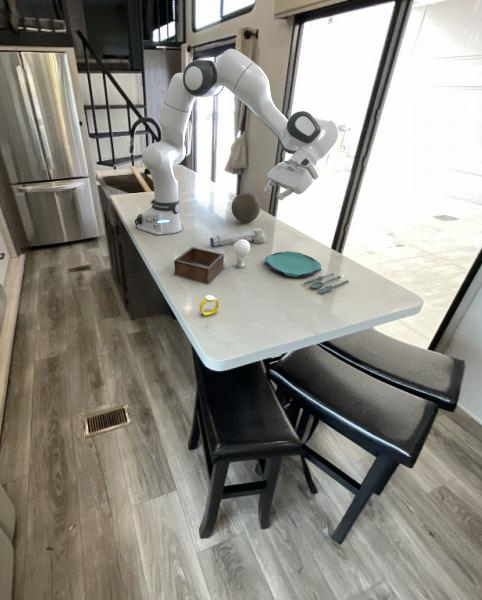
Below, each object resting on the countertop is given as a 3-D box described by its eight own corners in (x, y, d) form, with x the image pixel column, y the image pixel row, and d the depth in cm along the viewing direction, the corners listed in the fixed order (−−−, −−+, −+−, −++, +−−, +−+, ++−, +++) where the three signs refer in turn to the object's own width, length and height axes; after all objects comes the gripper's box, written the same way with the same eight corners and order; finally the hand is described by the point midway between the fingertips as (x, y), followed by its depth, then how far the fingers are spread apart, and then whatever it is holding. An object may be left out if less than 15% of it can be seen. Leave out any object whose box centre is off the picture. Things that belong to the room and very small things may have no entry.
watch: (201, 318, 94) (202, 302, 91) (197, 313, 96) (198, 297, 93) (219, 314, 96) (220, 297, 93) (215, 309, 99) (216, 293, 95)
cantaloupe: (235, 216, 172) (238, 188, 164) (261, 220, 167) (265, 191, 159) (226, 224, 162) (228, 195, 154) (253, 229, 157) (257, 198, 148)
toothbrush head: (209, 235, 139) (262, 223, 142) (210, 249, 143) (262, 237, 146) (212, 239, 135) (267, 227, 138) (214, 253, 139) (267, 241, 142)
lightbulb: (228, 264, 124) (230, 238, 118) (242, 262, 126) (245, 235, 120) (236, 271, 119) (239, 244, 113) (251, 268, 121) (254, 242, 115)
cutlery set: (293, 252, 134) (294, 247, 133) (353, 284, 112) (354, 278, 111) (255, 262, 126) (256, 256, 125) (312, 298, 104) (313, 292, 103)
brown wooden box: (174, 274, 117) (173, 260, 114) (191, 260, 127) (192, 246, 124) (207, 284, 112) (208, 269, 108) (223, 268, 122) (224, 254, 119)
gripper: (280, 154, 119) (253, 182, 122) (314, 163, 103) (283, 196, 105) (288, 166, 123) (262, 193, 125) (322, 177, 106) (292, 208, 109)
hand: (272, 195), depth 115 cm, fingers open, 8 cm apart
